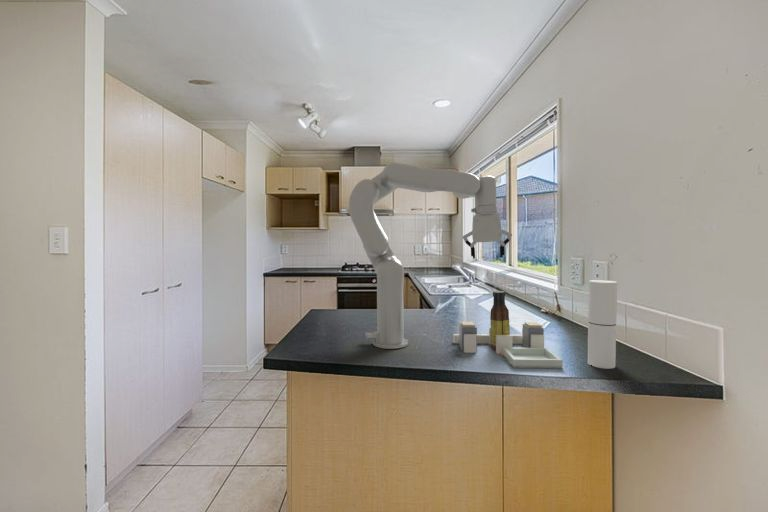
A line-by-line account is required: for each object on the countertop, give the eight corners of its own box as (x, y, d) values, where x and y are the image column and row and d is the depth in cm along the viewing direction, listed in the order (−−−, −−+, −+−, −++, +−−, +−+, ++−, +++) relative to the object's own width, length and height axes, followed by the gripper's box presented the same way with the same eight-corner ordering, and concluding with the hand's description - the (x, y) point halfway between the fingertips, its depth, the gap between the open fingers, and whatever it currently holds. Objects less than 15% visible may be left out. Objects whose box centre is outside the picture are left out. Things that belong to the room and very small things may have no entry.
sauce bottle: (507, 346, 128) (508, 290, 127) (512, 351, 122) (512, 292, 121) (488, 345, 129) (488, 290, 128) (492, 351, 123) (492, 292, 122)
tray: (513, 367, 106) (513, 359, 106) (502, 355, 118) (502, 347, 118) (562, 368, 106) (562, 360, 106) (546, 355, 118) (546, 347, 118)
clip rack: (459, 355, 119) (459, 328, 118) (453, 342, 134) (453, 318, 134) (553, 356, 117) (554, 329, 116) (536, 342, 132) (536, 318, 132)
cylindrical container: (584, 364, 109) (585, 281, 108) (591, 358, 114) (593, 279, 113) (611, 370, 104) (613, 283, 103) (618, 364, 109) (619, 281, 108)
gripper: (461, 211, 131) (463, 259, 131) (512, 208, 126) (513, 257, 127) (461, 213, 138) (463, 258, 139) (509, 210, 134) (511, 256, 134)
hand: (487, 257), depth 133 cm, fingers open, 9 cm apart
